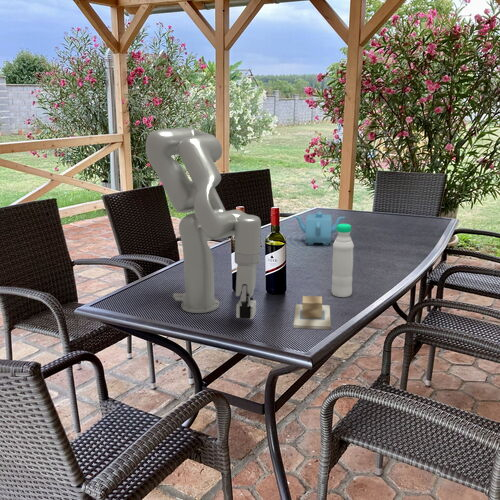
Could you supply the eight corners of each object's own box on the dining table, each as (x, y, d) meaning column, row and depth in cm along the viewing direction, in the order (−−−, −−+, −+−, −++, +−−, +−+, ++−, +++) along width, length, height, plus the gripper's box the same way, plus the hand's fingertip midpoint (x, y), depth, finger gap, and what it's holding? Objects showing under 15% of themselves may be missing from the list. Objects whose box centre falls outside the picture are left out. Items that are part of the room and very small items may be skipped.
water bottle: (349, 290, 186) (352, 222, 179) (353, 297, 179) (356, 226, 172) (329, 291, 186) (331, 222, 179) (333, 298, 179) (335, 227, 172)
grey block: (236, 317, 156) (236, 305, 155) (240, 311, 161) (240, 299, 160) (252, 319, 155) (252, 306, 154) (255, 312, 160) (256, 300, 159)
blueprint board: (293, 328, 155) (293, 324, 155) (295, 307, 171) (295, 304, 171) (330, 329, 154) (330, 326, 154) (329, 308, 170) (329, 305, 170)
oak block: (302, 318, 160) (302, 302, 158) (302, 310, 165) (302, 295, 164) (321, 318, 159) (322, 303, 158) (321, 311, 165) (321, 296, 163)
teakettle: (317, 249, 239) (318, 218, 235) (290, 241, 254) (291, 212, 250) (346, 243, 250) (347, 213, 246) (319, 235, 264) (319, 207, 260)
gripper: (238, 248, 161) (238, 302, 167) (230, 265, 145) (229, 325, 151) (262, 249, 160) (261, 303, 166) (256, 267, 144) (255, 326, 150)
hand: (246, 313), depth 158 cm, fingers closed on grey block, 5 cm apart
